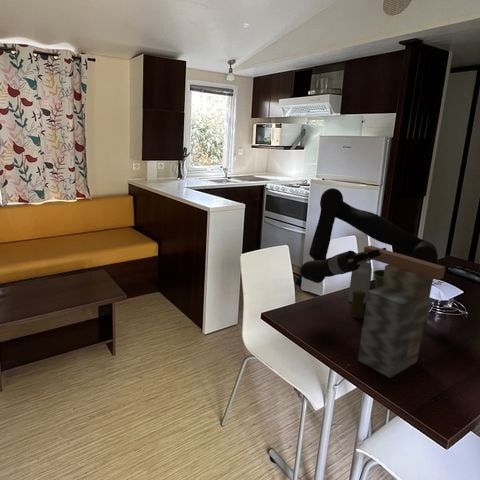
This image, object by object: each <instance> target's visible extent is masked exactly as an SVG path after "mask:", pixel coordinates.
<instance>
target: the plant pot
mask: <svg viewBox="0 0 480 480" xmlns="http://www.w3.org/2000/svg"><path fill="white" fill-rule="evenodd" d="M384 270H385V269H376V270H373V271H372V273H373V276H374V283H375V284H374V288H377V287H380V286H382V283H383V277H384Z"/></svg>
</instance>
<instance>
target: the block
mask: <svg viewBox="0 0 480 480" xmlns="http://www.w3.org/2000/svg"><path fill="white" fill-rule="evenodd" d="M377 249H378V250H379V252H380V256H377V257H373V258H371V259H373V260H372V261H377V262H380V263H382V264H385V265H392V266H395V267H398V268H401V269H404V270H408V271H411V272H414V273H417V274H420V275H423V276H427V277H430V278H433V280H437V281H439V280H441V279H444V276H445V272H446V266H445V265H444V266H443V265H440V264H438V263H437V264H434V263H430V262H427V261H423V260H420V259H416V258H413V257H411V256H410V255H405V254H401V253H399V252H395V251H394V252H393V251H390V250H387V249H386V250H384V249H382V248H380V247H378V246H377V247H376V246H374V245H367V246H364V248H363V252H364V253H366V252H371V251H374V250H377Z"/></svg>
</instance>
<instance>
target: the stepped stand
mask: <svg viewBox="0 0 480 480" xmlns="http://www.w3.org/2000/svg"><path fill="white" fill-rule="evenodd" d="M383 270H384V277H383V283H382V286H380V287H377V288H375V287H374V288H372V289H369V291H368V293H367V300H366V303H365V308H364V316H363V320H362V328H361V335H360V343H359V347H358V349H359V350H358V356H357V357H358V358H357V361H359V362H360V363H362V364H364V365H366V366H367V367H369V368H371V369H373V370H375V371H376V372H379V373H380V374H381V375H384V376H386V377H387V378H389V379H392V378H393V377H395V376H396V375H398V374H400V373H401V372H403V371H404V370H406V369H408V368H410V367H411V366H413V365H414V364H416V363H418V358H419V354H420V353H419V352H420V348H421V342H422V338H423V337H422V336H423V331H424V326H425V324H424V322H425V316H426V311H427V306H428V301H430V298H429V295H430V296H431V292H430V290H431V291H432V287H431V285H432V286H433V282H432V280H434V279H433V278H430V277H427V276H423V275H420V274H417V273H414V272H411V271H408V270H404V269H401V268H398V267H395V266H392V265H389V264H385V265H384V269H383Z"/></svg>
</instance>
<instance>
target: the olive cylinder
mask: <svg viewBox="0 0 480 480" xmlns="http://www.w3.org/2000/svg"><path fill="white" fill-rule="evenodd" d="M352 295H353V301H352V302H351V305H350V309H349V311H348V315H349V316H350V317H351V318H353V319H362V318H363V319H364V314H365V308H364V306H365V304H364V300H363V299H364V298H365V292H364V291H362V290H354V291H353V294H352Z"/></svg>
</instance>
